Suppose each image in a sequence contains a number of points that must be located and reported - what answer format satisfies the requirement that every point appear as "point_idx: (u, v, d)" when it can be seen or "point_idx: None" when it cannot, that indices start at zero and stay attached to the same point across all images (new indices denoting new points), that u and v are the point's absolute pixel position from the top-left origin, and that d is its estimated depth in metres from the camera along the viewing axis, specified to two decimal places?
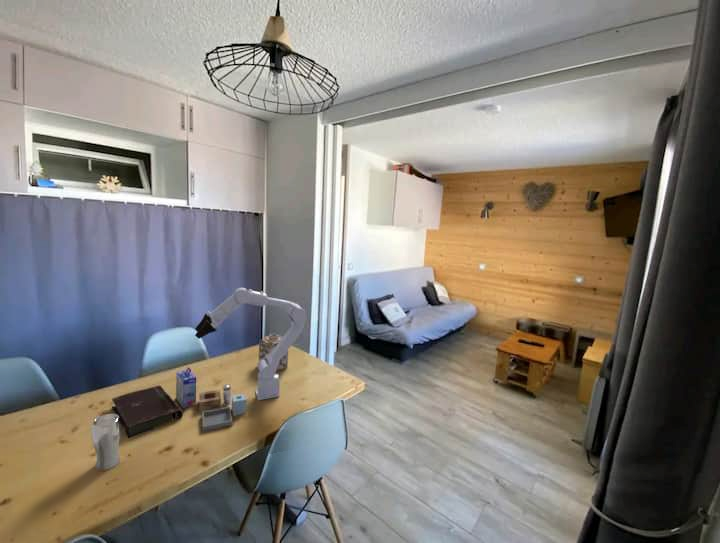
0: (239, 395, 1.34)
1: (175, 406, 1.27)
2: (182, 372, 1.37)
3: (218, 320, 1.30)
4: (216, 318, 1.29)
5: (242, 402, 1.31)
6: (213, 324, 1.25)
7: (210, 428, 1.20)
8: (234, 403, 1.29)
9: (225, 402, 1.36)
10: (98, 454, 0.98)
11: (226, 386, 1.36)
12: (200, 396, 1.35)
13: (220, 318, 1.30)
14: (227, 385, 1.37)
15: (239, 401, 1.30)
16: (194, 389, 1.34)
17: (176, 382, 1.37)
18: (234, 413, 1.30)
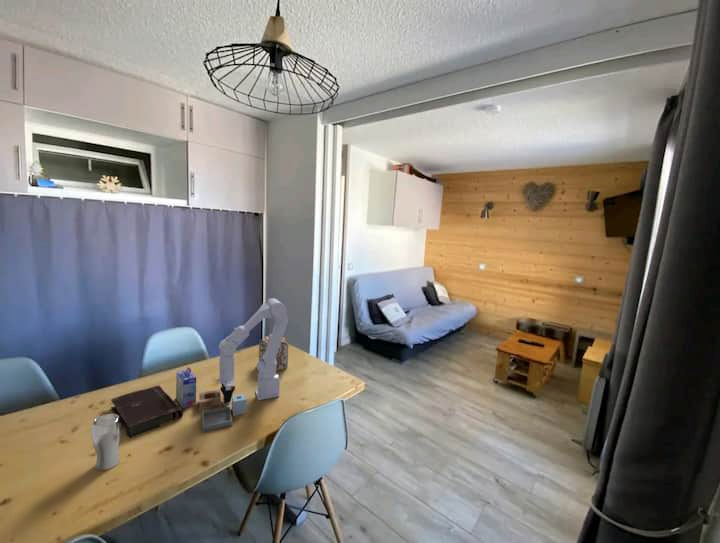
0: (239, 395, 1.34)
1: (175, 406, 1.27)
2: (182, 372, 1.37)
3: (229, 379, 1.34)
4: (226, 379, 1.33)
5: (242, 402, 1.31)
6: (227, 388, 1.30)
7: (210, 428, 1.20)
8: (234, 403, 1.29)
9: None
10: (98, 454, 0.98)
11: None
12: (200, 396, 1.35)
13: (229, 376, 1.34)
14: None
15: (239, 401, 1.30)
16: (194, 389, 1.34)
17: (176, 382, 1.37)
18: (234, 413, 1.30)
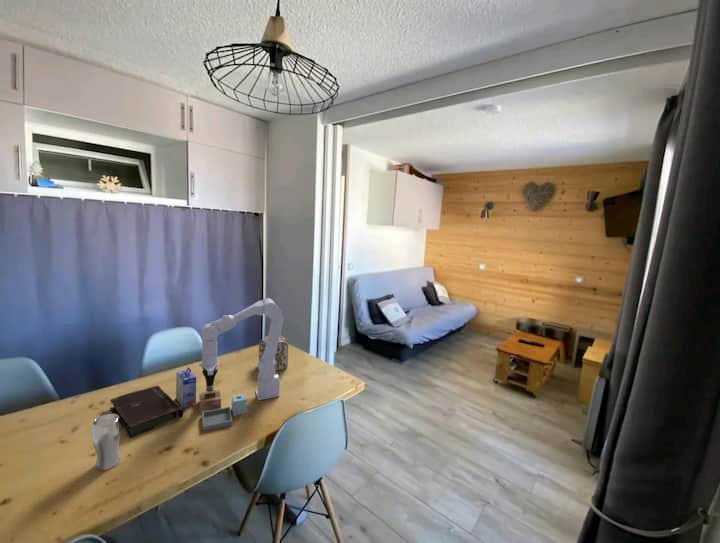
0: (239, 395, 1.34)
1: (175, 405, 1.27)
2: (182, 372, 1.37)
3: (212, 364, 1.31)
4: (209, 364, 1.31)
5: (242, 402, 1.31)
6: (209, 373, 1.27)
7: (210, 428, 1.20)
8: (234, 403, 1.29)
9: (208, 388, 1.34)
10: (98, 454, 0.98)
11: None
12: (200, 396, 1.35)
13: (212, 361, 1.31)
14: None
15: (239, 401, 1.30)
16: (194, 389, 1.34)
17: (176, 382, 1.37)
18: (234, 413, 1.30)
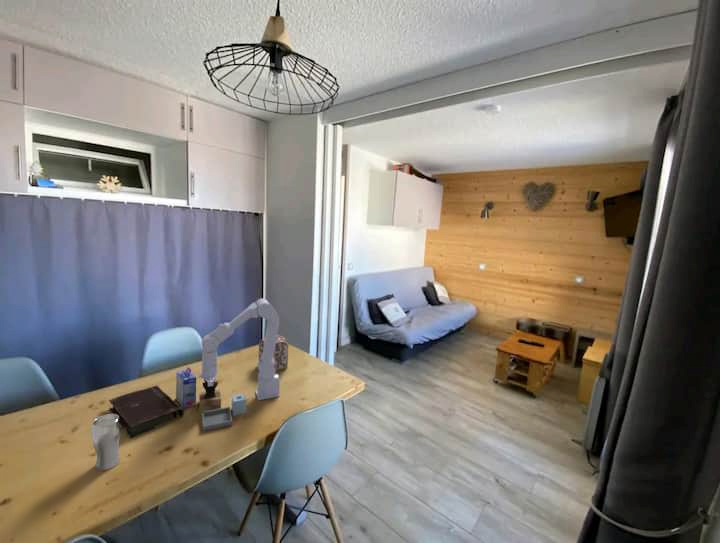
0: (239, 395, 1.34)
1: (175, 405, 1.27)
2: (182, 372, 1.37)
3: (212, 375, 1.32)
4: (209, 375, 1.31)
5: (242, 402, 1.31)
6: (209, 384, 1.28)
7: (210, 428, 1.20)
8: (234, 403, 1.29)
9: None
10: (98, 454, 0.98)
11: None
12: (200, 396, 1.35)
13: (212, 372, 1.32)
14: None
15: (239, 401, 1.30)
16: (194, 389, 1.34)
17: (176, 382, 1.37)
18: (234, 413, 1.30)
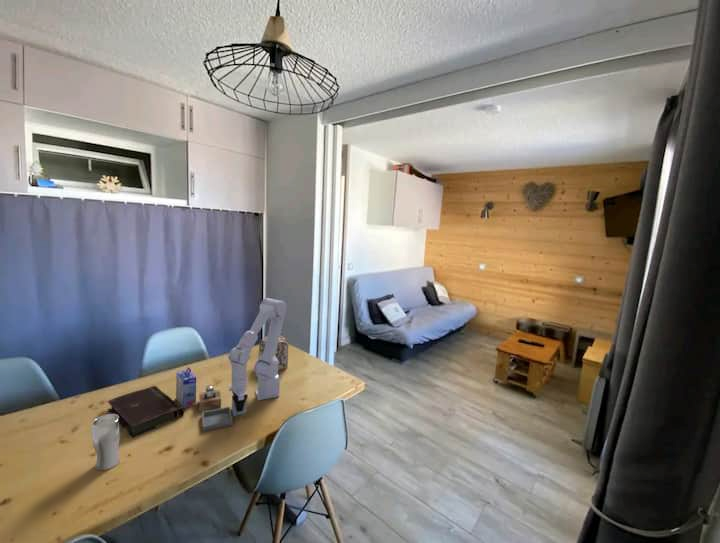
0: None
1: (176, 405, 1.28)
2: (182, 372, 1.37)
3: (242, 388, 1.29)
4: (239, 389, 1.29)
5: None
6: (240, 398, 1.25)
7: (210, 428, 1.20)
8: (234, 403, 1.29)
9: None
10: (98, 454, 0.98)
11: (209, 387, 1.34)
12: (200, 396, 1.35)
13: (242, 386, 1.29)
14: (210, 386, 1.35)
15: None
16: (194, 389, 1.34)
17: (176, 382, 1.37)
18: (234, 413, 1.30)
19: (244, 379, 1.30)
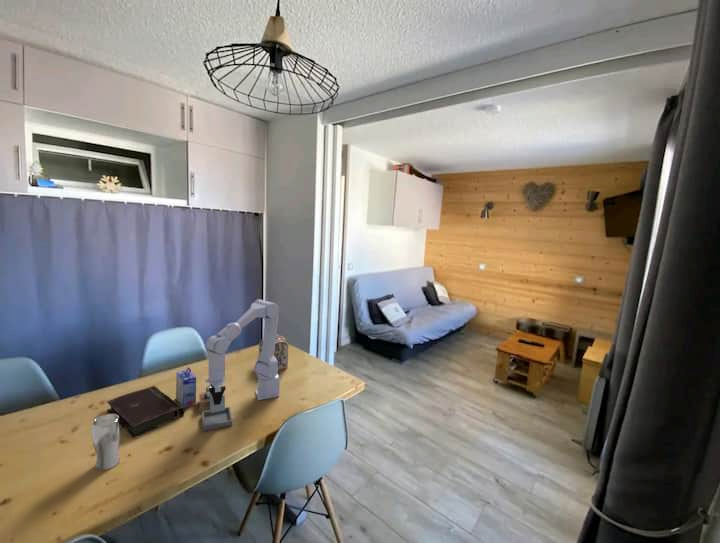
0: None
1: (176, 404, 1.28)
2: (182, 372, 1.37)
3: (220, 379, 1.21)
4: (216, 380, 1.20)
5: None
6: (216, 390, 1.17)
7: (210, 428, 1.20)
8: (211, 400, 1.21)
9: None
10: (98, 454, 0.98)
11: (209, 387, 1.34)
12: (200, 396, 1.35)
13: (219, 377, 1.21)
14: (210, 386, 1.35)
15: None
16: (194, 389, 1.34)
17: (176, 382, 1.37)
18: (212, 410, 1.22)
19: (222, 370, 1.21)
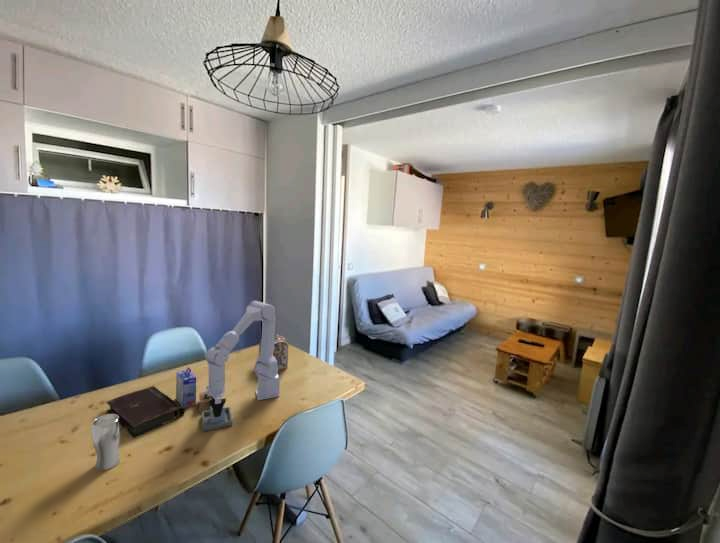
0: None
1: (176, 404, 1.28)
2: (182, 372, 1.37)
3: (220, 391, 1.22)
4: (216, 391, 1.21)
5: None
6: (216, 401, 1.17)
7: (210, 428, 1.20)
8: (212, 412, 1.22)
9: None
10: (98, 454, 0.98)
11: None
12: (200, 396, 1.35)
13: (219, 388, 1.21)
14: None
15: None
16: (194, 389, 1.34)
17: (176, 382, 1.37)
18: (212, 422, 1.22)
19: (222, 381, 1.22)
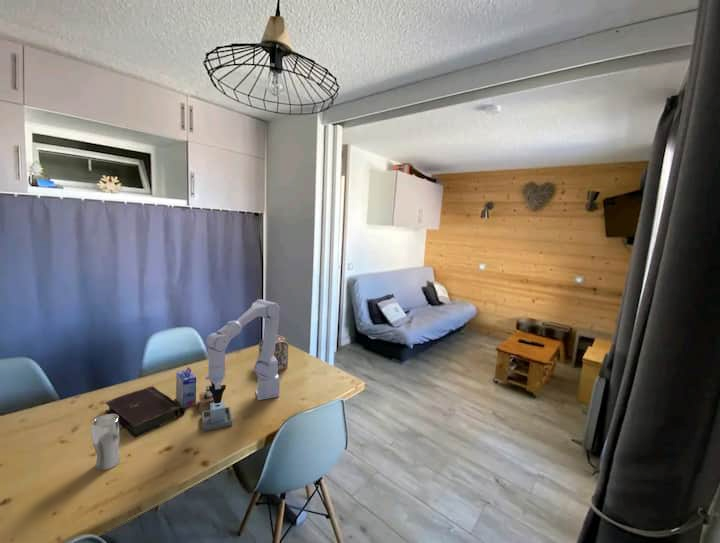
0: (218, 403, 1.26)
1: (176, 404, 1.28)
2: (182, 372, 1.37)
3: (220, 377, 1.21)
4: (216, 377, 1.20)
5: (221, 411, 1.23)
6: (216, 387, 1.16)
7: (210, 428, 1.20)
8: (212, 412, 1.22)
9: None
10: (98, 454, 0.98)
11: None
12: (200, 396, 1.35)
13: (219, 374, 1.20)
14: None
15: (217, 409, 1.23)
16: (194, 389, 1.34)
17: (176, 382, 1.37)
18: (212, 422, 1.22)
19: (222, 367, 1.21)
